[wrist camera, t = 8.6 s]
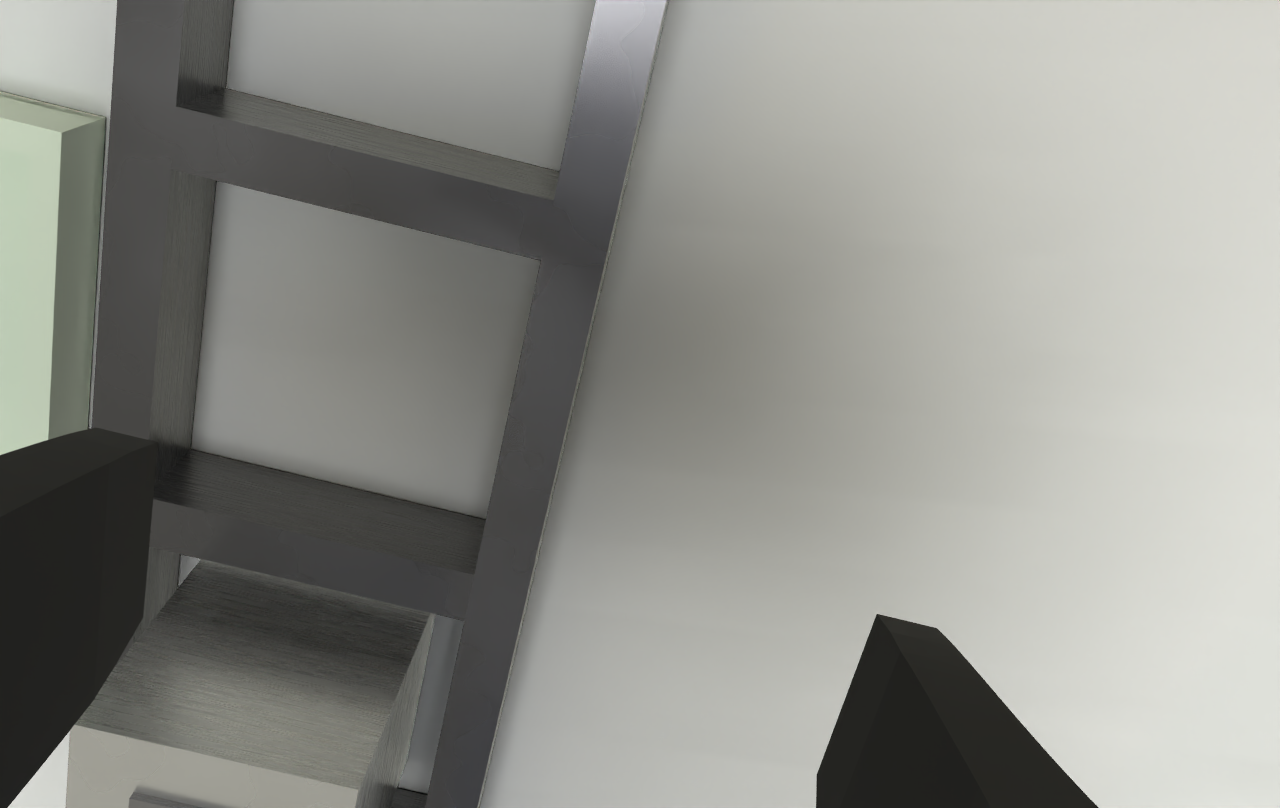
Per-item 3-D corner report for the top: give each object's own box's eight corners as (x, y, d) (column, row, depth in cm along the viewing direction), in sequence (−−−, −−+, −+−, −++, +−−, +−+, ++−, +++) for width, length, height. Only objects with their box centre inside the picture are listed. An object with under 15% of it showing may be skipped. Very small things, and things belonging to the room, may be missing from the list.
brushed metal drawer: (407, 759, 26) (318, 1001, 20) (201, 712, 26) (53, 942, 20) (441, 585, 24) (355, 797, 18) (221, 533, 24) (65, 729, 18)
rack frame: (471, 841, 26) (452, 912, 25) (114, 759, 26) (68, 824, 24) (731, -264, 18) (732, -283, 16) (204, -403, 18) (143, -440, 16)
